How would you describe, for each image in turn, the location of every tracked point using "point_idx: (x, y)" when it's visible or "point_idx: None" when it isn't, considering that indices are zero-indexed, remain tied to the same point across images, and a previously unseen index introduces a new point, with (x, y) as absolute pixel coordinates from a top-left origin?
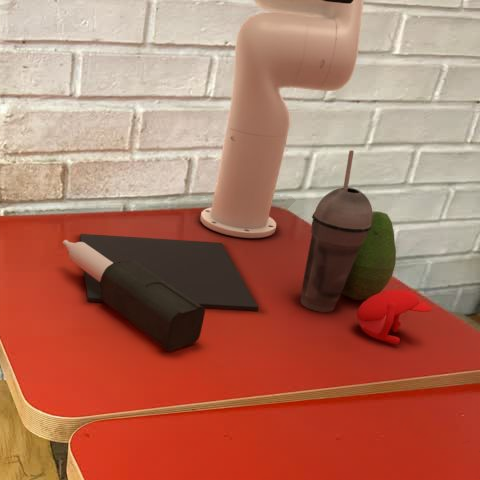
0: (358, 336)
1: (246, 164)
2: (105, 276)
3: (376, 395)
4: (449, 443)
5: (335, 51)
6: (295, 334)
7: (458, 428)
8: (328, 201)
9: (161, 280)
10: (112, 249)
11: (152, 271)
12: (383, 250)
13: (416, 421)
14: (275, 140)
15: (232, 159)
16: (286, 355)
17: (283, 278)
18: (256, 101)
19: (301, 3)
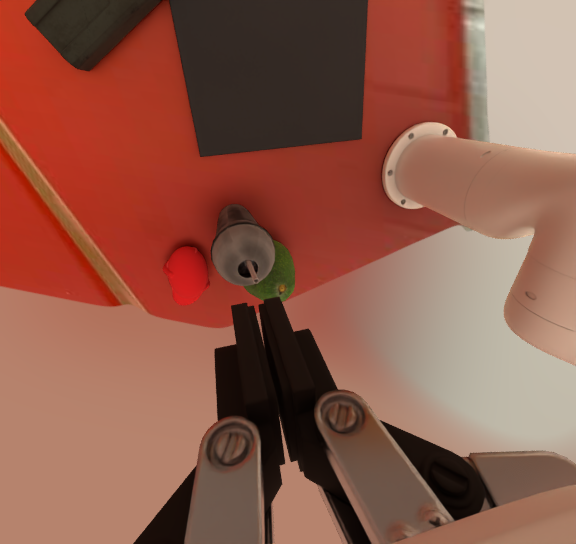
0: (178, 243)
1: (444, 172)
2: None
3: (67, 237)
4: (14, 275)
5: (542, 320)
6: (160, 187)
7: (43, 286)
8: (236, 240)
9: (116, 4)
10: None
11: (261, 29)
12: (247, 286)
13: (37, 259)
14: (460, 212)
15: (460, 154)
16: (109, 170)
17: (287, 196)
18: (511, 187)
19: None
